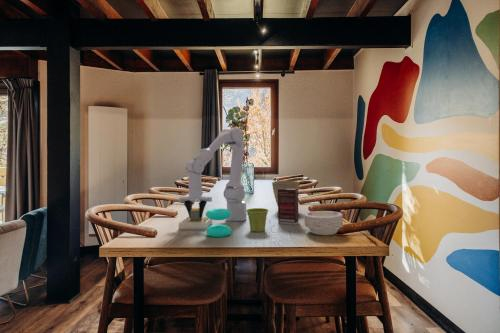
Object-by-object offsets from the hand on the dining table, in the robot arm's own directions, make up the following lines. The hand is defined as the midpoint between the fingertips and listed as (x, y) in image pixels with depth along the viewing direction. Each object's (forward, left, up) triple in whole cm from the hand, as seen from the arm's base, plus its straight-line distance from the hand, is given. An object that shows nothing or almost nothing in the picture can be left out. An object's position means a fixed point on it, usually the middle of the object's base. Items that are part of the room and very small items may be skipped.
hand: (195, 217), depth 156 cm
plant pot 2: (-40, -40, -4) cm, 57 cm away
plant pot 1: (-28, +6, -4) cm, 29 cm away
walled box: (0, 0, -4) cm, 4 cm away
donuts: (-13, +14, -4) cm, 20 cm away
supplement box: (-41, -9, -4) cm, 42 cm away
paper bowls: (-55, +9, -4) cm, 56 cm away
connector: (0, 0, -2) cm, 2 cm away
